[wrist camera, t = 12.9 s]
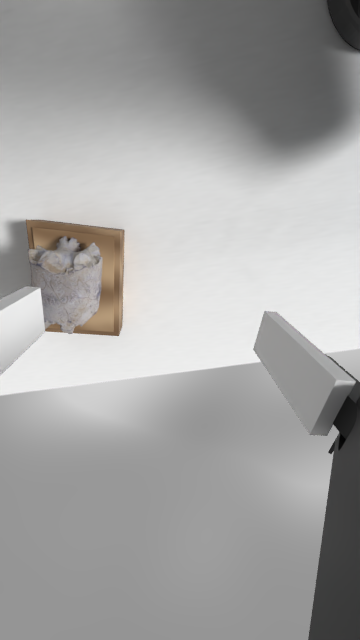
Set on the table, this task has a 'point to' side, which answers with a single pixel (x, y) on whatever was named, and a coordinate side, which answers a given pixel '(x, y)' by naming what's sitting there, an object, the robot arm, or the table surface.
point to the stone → (67, 282)
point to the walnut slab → (112, 268)
